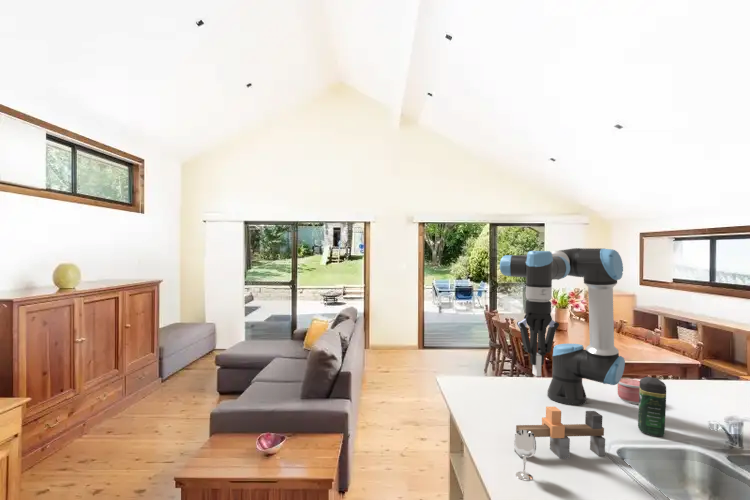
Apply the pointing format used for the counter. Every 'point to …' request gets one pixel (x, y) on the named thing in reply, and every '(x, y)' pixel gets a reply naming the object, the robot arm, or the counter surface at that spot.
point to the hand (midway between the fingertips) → (536, 374)
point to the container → (629, 390)
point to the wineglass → (525, 450)
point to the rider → (554, 422)
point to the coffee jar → (652, 406)
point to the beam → (563, 444)
